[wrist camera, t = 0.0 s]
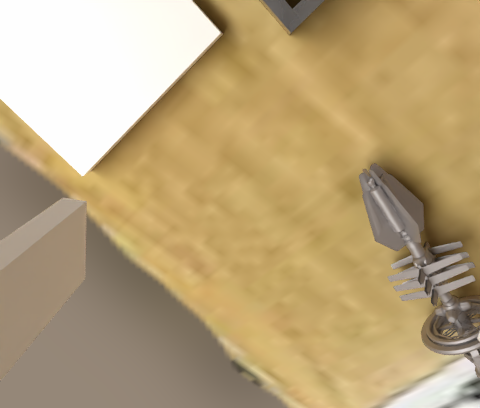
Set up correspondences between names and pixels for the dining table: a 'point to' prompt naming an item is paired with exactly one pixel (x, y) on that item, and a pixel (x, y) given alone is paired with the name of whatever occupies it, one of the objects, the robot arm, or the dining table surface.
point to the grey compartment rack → (290, 12)
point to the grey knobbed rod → (423, 265)
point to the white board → (95, 66)
